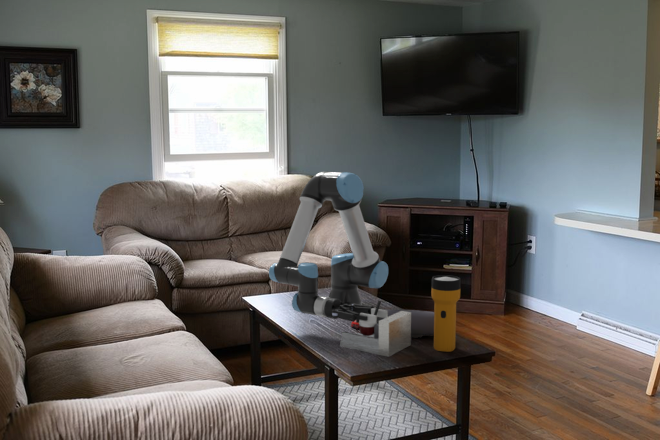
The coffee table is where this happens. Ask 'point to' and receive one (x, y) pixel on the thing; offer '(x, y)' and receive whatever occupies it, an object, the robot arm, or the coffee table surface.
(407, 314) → the labeled panel enclosure
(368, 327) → the cocoa
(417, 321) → the bluetooth speaker
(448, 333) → the flashlight
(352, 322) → the race car
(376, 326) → the tall grey box
